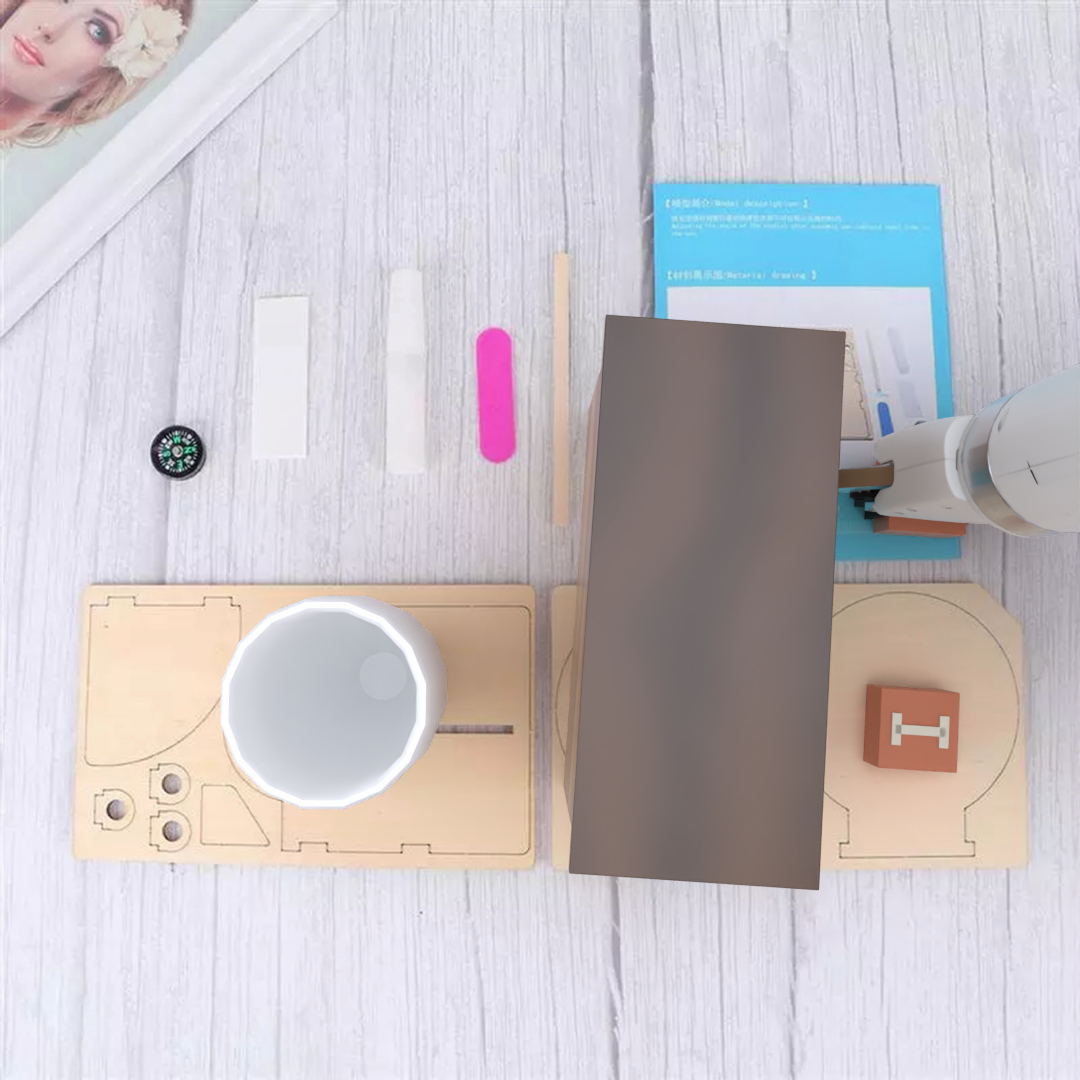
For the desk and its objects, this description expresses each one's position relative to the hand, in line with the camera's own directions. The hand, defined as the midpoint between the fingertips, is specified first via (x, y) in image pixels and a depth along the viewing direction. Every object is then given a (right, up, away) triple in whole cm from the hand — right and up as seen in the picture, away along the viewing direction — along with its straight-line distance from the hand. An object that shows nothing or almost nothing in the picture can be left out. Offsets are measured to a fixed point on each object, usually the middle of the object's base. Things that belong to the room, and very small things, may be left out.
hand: (904, 501), depth 66 cm
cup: (-35, -12, -1) cm, 37 cm away
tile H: (0, 0, 0) cm, 0 cm away
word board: (-17, -5, -22) cm, 29 cm away
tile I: (-1, -15, -1) cm, 15 cm away
